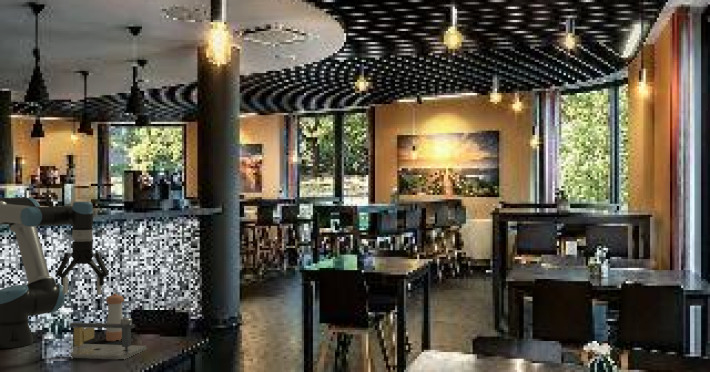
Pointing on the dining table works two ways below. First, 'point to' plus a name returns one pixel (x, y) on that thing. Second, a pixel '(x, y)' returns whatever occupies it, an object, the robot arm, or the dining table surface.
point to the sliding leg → (82, 335)
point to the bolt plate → (106, 351)
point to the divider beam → (125, 325)
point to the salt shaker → (114, 317)
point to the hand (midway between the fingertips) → (82, 293)
